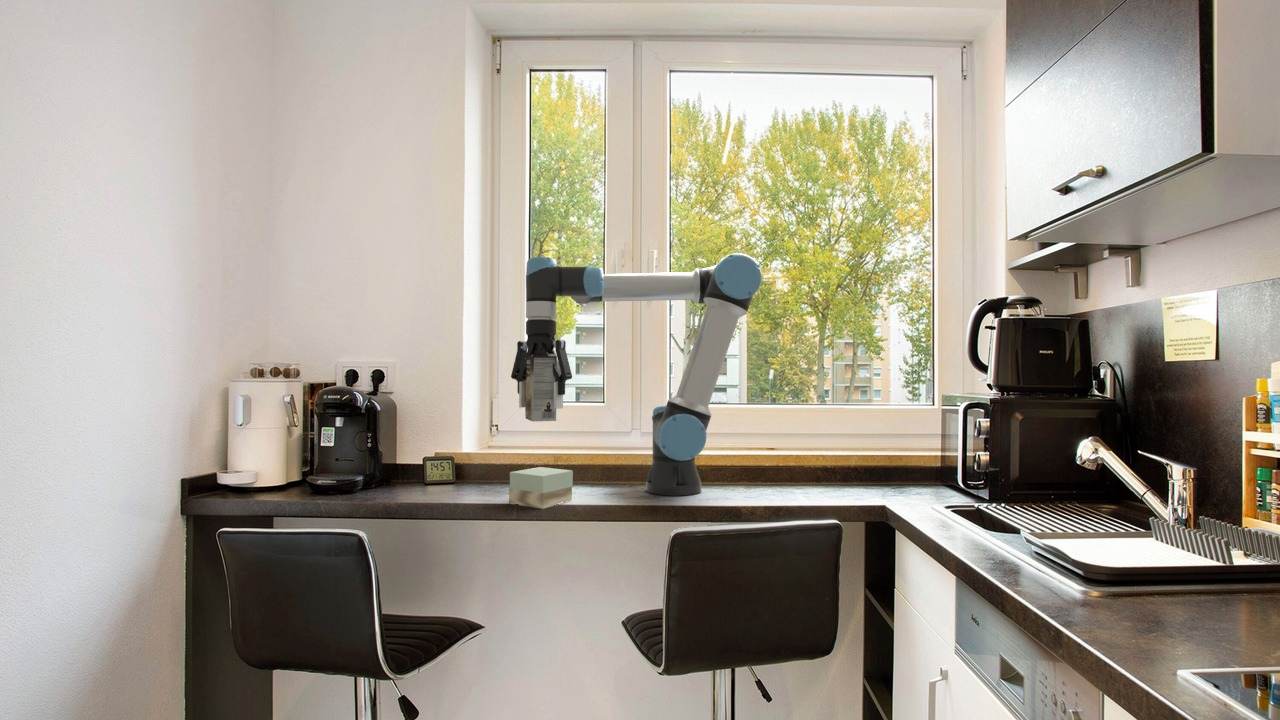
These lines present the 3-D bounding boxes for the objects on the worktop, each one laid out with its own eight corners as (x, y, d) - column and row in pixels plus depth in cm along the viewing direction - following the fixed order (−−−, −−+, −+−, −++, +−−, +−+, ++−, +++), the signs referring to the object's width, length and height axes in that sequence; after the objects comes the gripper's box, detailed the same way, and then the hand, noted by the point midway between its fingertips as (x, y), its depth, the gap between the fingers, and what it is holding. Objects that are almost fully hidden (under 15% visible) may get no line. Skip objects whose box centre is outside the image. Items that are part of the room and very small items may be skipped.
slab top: (572, 486, 159) (572, 470, 160) (542, 493, 150) (543, 476, 150) (540, 482, 166) (540, 466, 166) (509, 488, 156) (509, 472, 156)
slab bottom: (571, 502, 159) (571, 486, 160) (542, 510, 150) (543, 493, 150) (538, 497, 165) (538, 482, 165) (508, 504, 156) (509, 488, 156)
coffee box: (524, 419, 161) (524, 356, 162) (548, 418, 164) (549, 356, 164) (531, 421, 153) (532, 355, 153) (557, 421, 155) (557, 355, 156)
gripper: (587, 318, 156) (586, 408, 156) (516, 322, 168) (516, 405, 168) (568, 316, 150) (567, 409, 149) (496, 320, 162) (496, 407, 161)
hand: (540, 407), depth 158 cm, fingers closed on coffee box, 10 cm apart
